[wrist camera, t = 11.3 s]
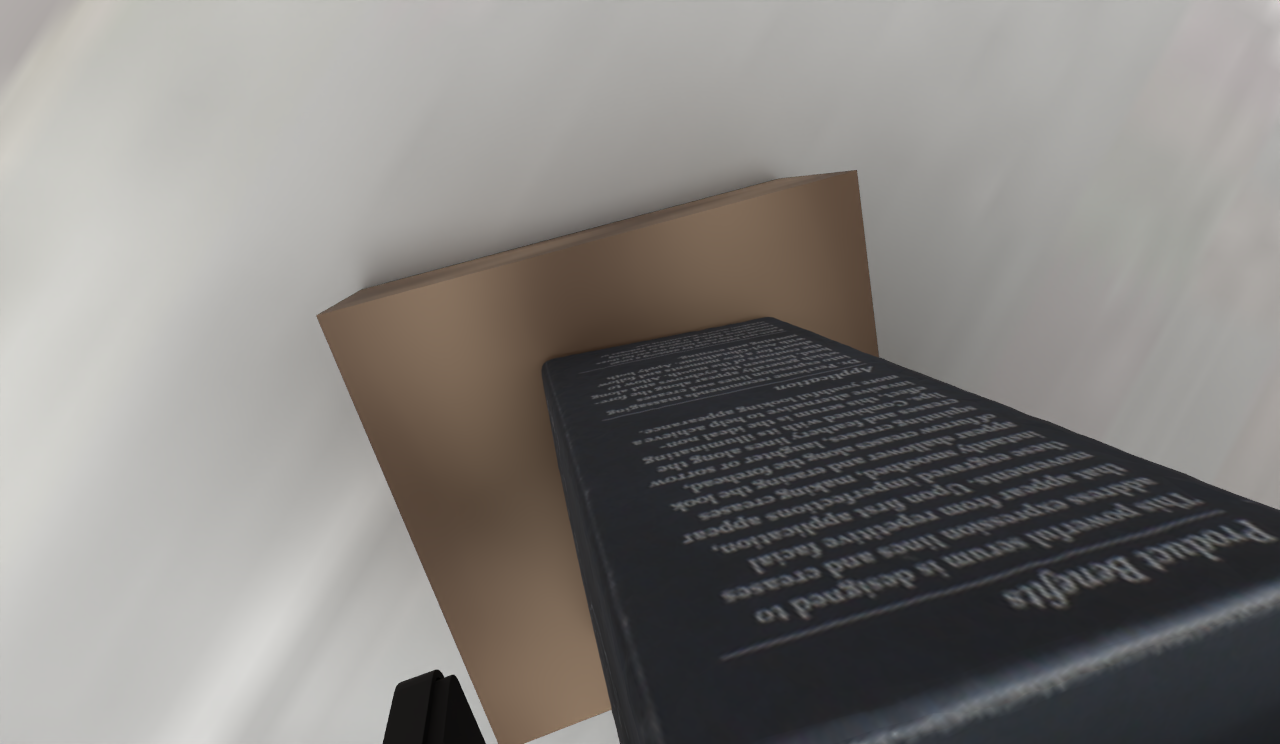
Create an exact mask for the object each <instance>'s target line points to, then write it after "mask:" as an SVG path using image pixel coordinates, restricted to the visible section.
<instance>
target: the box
mask: <svg viewBox="0 0 1280 744" xmlns="http://www.w3.org/2000/svg"><path fill="white" fill-rule="evenodd" d="M541 373H542V380H543V386H544V392H545V397H546V402H547V408H548V413H549V418H550V424H551V430H552V435H553V440H554V446H555V451H556V456H557V462H558V468H559V471H560V476H561V481H562V486H563V491H564V496H565V501H566V506H567V511H568V515H569V520H570V525H571V529H572V534H573V538H574V543H575V548H576V553H577V558H578V562H579V567H580V571H581V576H582V581H583V585H584V590H585V594H586V598H587V603H588V608H589V612H590V616H591V621H592V626H593V630H594V634H595V639H596V643H597V648H598V652H599V657H600V660H601V665H602V669H603V673H604V678H605V682H606V686H607V691H608V696H609V699H610V704H611V709H612V713H613V717H614V720H615V724H616V728H617V732H618V737H619V741H620V744H1280V510H1278V509H1275V508H1272V507H1269V506H1266V505H1264V504H1261V503H1258V502H1255V501H1253V500H1250V499H1247V498H1244V497H1242V496H1239V495H1236V494H1234V493H1231V492H1228V491H1226V490H1223V489H1220V488H1218V487H1215V486H1212V485H1210V484H1207V483H1205V482H1202V481H1200V480H1198V479H1196V478H1193V477H1191V476H1189V475H1187V474H1184V473H1181V472H1179V471H1176V470H1173V469H1170V468H1167V467H1165V466H1162V465H1159V464H1156V463H1153V462H1151V461H1148V460H1145V459H1142V458H1140V457H1137V456H1134V455H1131V454H1129V453H1126V452H1124V451H1122V450H1119V449H1117V448H1114V447H1112V446H1109V445H1107V444H1104V443H1102V442H1099V441H1097V440H1094V439H1092V438H1089V437H1086V436H1083V435H1080V434H1077V433H1075V432H1072V431H1070V430H1068V429H1065V428H1063V427H1061V426H1058V425H1056V424H1053V423H1051V422H1048V421H1045V420H1042V419H1039V418H1036V417H1032V416H1029V415H1026V414H1024V413H1022V412H1020V411H1017V410H1015V409H1013V408H1011V407H1008V406H1005V405H1003V404H1000V403H998V402H995V401H992V400H989V399H987V398H984V397H981V396H978V395H976V394H973V393H970V392H967V391H964V390H962V389H960V388H957V387H955V386H952V385H950V384H947V383H944V382H941V381H939V380H936V379H934V378H931V377H928V376H926V375H923V374H921V373H918V372H915V371H913V370H910V369H907V368H904V367H902V366H899V365H896V364H894V363H891V362H889V361H887V360H885V359H882V358H879V357H876V356H873V355H871V354H868V353H864V352H861V351H859V350H857V349H854V348H852V347H850V346H848V345H845V344H841V343H839V342H837V341H834V340H831V339H829V338H826V337H824V336H821V335H819V334H816V333H814V332H812V331H809V330H806V329H803V328H800V327H798V326H795V325H792V324H790V323H787V322H784V321H781V320H779V319H776V318H774V317H763V318H758V319H753V320H749V321H745V322H740V323H734V324H728V325H724V326H720V327H713V328H708V329H704V330H700V331H693V332H687V333H682V334H677V335H672V336H667V337H662V338H657V339H652V340H647V341H641V342H636V343H631V344H626V345H621V346H616V347H611V348H606V349H601V350H596V351H589V352H585V353H580V354H574V355H569V356H565V357H559V358H554V359H551V360H549V361H546V362H545V363H544V364H543V366H542V369H541Z"/></svg>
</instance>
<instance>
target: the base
mask: <svg viewBox="0 0 1280 744" xmlns="http://www.w3.org/2000/svg"><path fill="white" fill-rule="evenodd" d="M316 316H317V319H318V321H319V323H320V326H321V328H322V330H323V333H324V335H325V337H326V340H327V342H328V344H329V347H330V349H331V351H332V354H333V356H334V359H335V361H336V363H337V366H338V368H339V370H340V373H341V375H342V377H343V380H344V382H345V384H346V387H347V389H348V391H349V394H350V396H351V398H352V401H353V403H354V406H355V408H356V410H357V413H358V415H359V417H360V420H361V422H362V424H363V427H364V429H365V431H366V434H367V436H368V438H369V441H370V443H371V446H372V448H373V450H374V453H375V455H376V457H377V460H378V462H379V464H380V467H381V469H382V471H383V474H384V476H385V478H386V481H387V483H388V485H389V488H390V490H391V493H392V495H393V497H394V500H395V502H396V504H397V507H398V509H399V511H400V514H401V516H402V518H403V521H404V523H405V525H406V528H407V530H408V532H409V535H410V537H411V540H412V542H413V544H414V547H415V549H416V551H417V554H418V556H419V558H420V561H421V563H422V565H423V568H424V570H425V572H426V575H427V577H428V580H429V582H430V584H431V587H432V589H433V591H434V594H435V596H436V598H437V601H438V603H439V605H440V608H441V610H442V612H443V615H444V617H445V619H446V622H447V624H448V627H449V629H450V631H451V634H452V636H453V638H454V641H455V643H456V645H457V648H458V650H459V652H460V655H461V657H462V659H463V662H464V664H465V666H466V669H467V671H468V674H469V676H470V678H471V681H472V683H473V685H474V688H475V690H476V692H477V695H478V697H479V699H480V702H481V704H482V706H483V709H484V711H485V714H486V716H487V718H488V721H489V723H490V725H491V728H492V730H493V732H494V735H495V737H496V739H497V742H498V744H524V743H527V742H529V741H532V740H534V739H537V738H539V737H542V736H545V735H547V734H550V733H552V732H555V731H557V730H560V729H563V728H565V727H568V726H570V725H573V724H576V723H578V722H581V721H583V720H586V719H588V718H591V717H594V716H596V715H599V714H601V713H604V712H606V711H609V710H612V709H611V704H610V699H609V696H608V691H607V686H606V682H605V678H604V673H603V669H602V665H601V660H600V657H599V652H598V648H597V643H596V639H595V634H594V630H593V626H592V621H591V616H590V612H589V608H588V603H587V598H586V594H585V590H584V585H583V581H582V576H581V571H580V567H579V562H578V558H577V553H576V548H575V543H574V538H573V534H572V529H571V525H570V520H569V515H568V511H567V506H566V501H565V496H564V491H563V486H562V481H561V476H560V471H559V468H558V462H557V456H556V451H555V446H554V440H553V435H552V430H551V424H550V418H549V413H548V408H547V402H546V397H545V392H544V386H543V380H542V373H541V369H542V366H543V364H544V363H545V362H546V361H549V360H551V359H554V358H559V357H565V356H569V355H574V354H580V353H585V352H589V351H596V350H601V349H606V348H611V347H616V346H621V345H626V344H631V343H636V342H641V341H647V340H652V339H657V338H662V337H667V336H672V335H677V334H682V333H687V332H693V331H700V330H704V329H708V328H713V327H720V326H724V325H728V324H734V323H740V322H745V321H749V320H753V319H758V318H763V317H774V318H776V319H779V320H781V321H784V322H787V323H790V324H792V325H795V326H798V327H800V328H803V329H806V330H809V331H812V332H814V333H816V334H819V335H821V336H824V337H826V338H829V339H831V340H834V341H837V342H839V343H841V344H845V345H848V346H850V347H852V348H854V349H857V350H859V351H861V352H864V353H868V354H871V355H873V356H876V357H879V354H878V345H877V337H876V328H875V320H874V311H873V303H872V294H871V286H870V277H869V269H868V261H867V252H866V244H865V235H864V227H863V218H862V210H861V201H860V193H859V184H858V176H857V170H854V171H845V172H836V173H826V174H817V175H808V176H799V177H790V178H780V179H776V180H772V181H768V182H765V183H761V184H757V185H753V186H750V187H746V188H742V189H738V190H734V191H731V192H727V193H723V194H719V195H716V196H712V197H708V198H704V199H701V200H697V201H693V202H689V203H686V204H682V205H678V206H674V207H671V208H667V209H663V210H659V211H655V212H652V213H648V214H644V215H640V216H637V217H633V218H629V219H625V220H622V221H618V222H614V223H610V224H607V225H603V226H599V227H595V228H591V229H588V230H584V231H580V232H576V233H573V234H569V235H565V236H561V237H558V238H554V239H550V240H546V241H543V242H539V243H535V244H531V245H527V246H524V247H520V248H516V249H512V250H509V251H505V252H501V253H497V254H494V255H490V256H486V257H482V258H479V259H475V260H471V261H467V262H463V263H460V264H456V265H452V266H448V267H445V268H441V269H437V270H433V271H430V272H426V273H422V274H418V275H415V276H411V277H407V278H403V279H399V280H396V281H392V282H388V283H384V284H381V285H377V286H373V287H369V288H366V289H362V290H360V291H358V292H356V293H355V294H353V295H351V296H349V297H348V298H346V299H344V300H342V301H341V302H339V303H337V304H335V305H334V306H332V307H330V308H328V309H327V310H325V311H323V312H322V313H320V314H318V315H316Z"/></svg>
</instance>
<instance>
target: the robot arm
mask: <svg viewBox="0 0 1280 744" xmlns="http://www.w3.org/2000/svg"><path fill="white" fill-rule="evenodd" d="M383 744H486V743H485V741H484V738H483V736H482V734H481V732H480V729H479V727H478V725H477V722H476V720H475V718H474V715H473V713H472V711H471V708H470V706H469V704H468V702H467V699H466V697H465V695H464V692H463V690H462V688H461V685H460V683H459V681H458V679H457V677H456V676H455V675H450V676H448V677H445V678H444V676H443V674H442V673H441V672H440V671H439V670H434V671H431V672H428V673H425V674H422V675H420V676H417V677H414V678H411V679H409V680H406V681H403V682H400V683H399V684H398V685H397V686H396V689H395V692H394V696H393V700H392V705H391V709H390V714H389V718H388V722H387V727H386V731H385V736H384V740H383Z"/></svg>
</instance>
